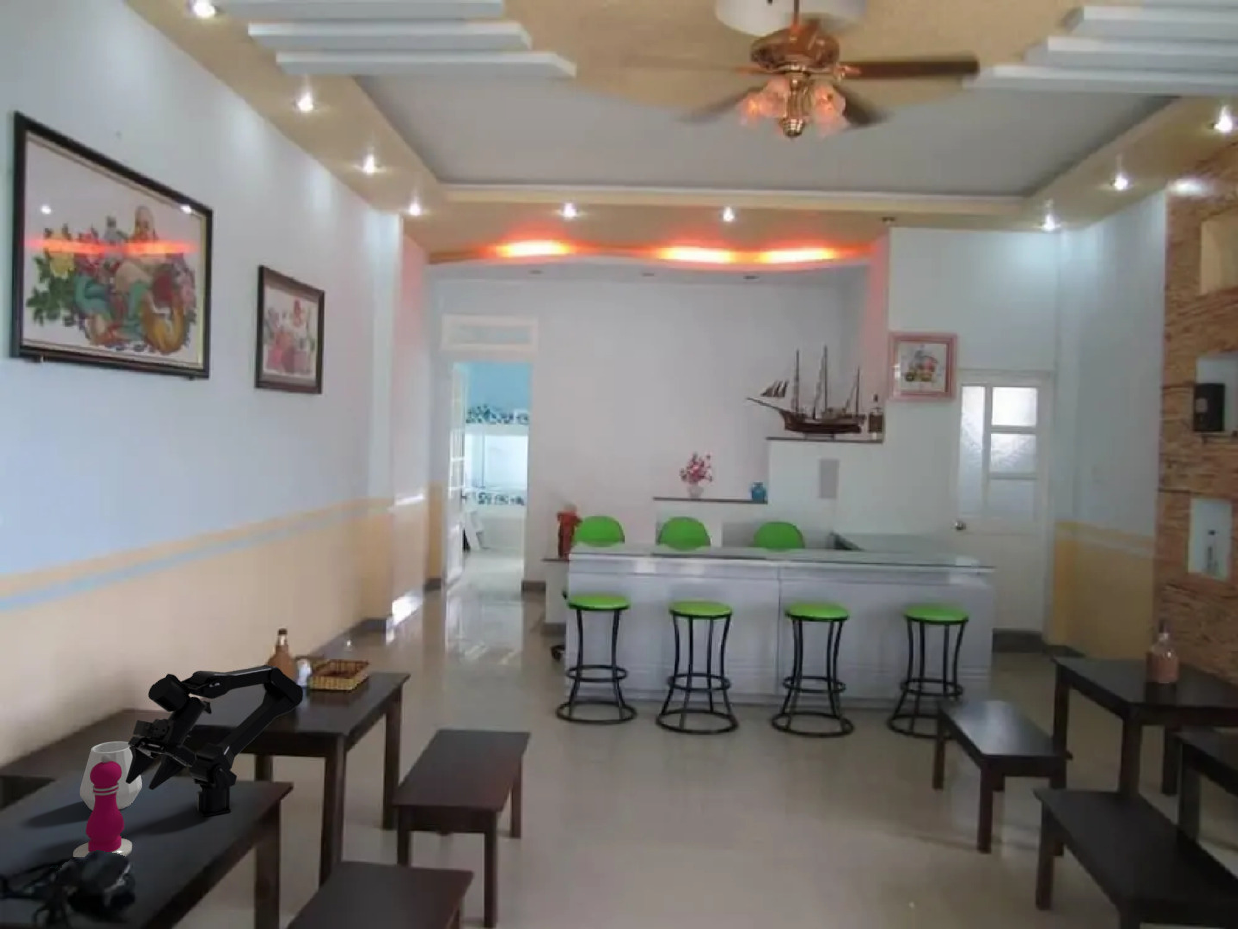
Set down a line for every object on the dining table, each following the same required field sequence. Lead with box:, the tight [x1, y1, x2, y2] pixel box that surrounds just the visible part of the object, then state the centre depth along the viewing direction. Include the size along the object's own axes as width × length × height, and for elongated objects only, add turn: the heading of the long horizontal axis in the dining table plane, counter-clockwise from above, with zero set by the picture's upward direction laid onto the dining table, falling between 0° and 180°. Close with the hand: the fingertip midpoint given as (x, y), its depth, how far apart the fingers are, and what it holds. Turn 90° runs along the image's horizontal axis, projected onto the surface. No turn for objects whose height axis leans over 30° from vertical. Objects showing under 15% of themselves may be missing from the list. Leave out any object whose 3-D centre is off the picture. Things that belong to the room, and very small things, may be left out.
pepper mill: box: [85, 754, 125, 852], centre depth 206 cm, size 7×7×20 cm
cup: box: [79, 740, 143, 811], centre depth 233 cm, size 13×13×14 cm
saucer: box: [72, 837, 133, 858], centre depth 206 cm, size 11×11×1 cm
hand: (138, 786), depth 214 cm, fingers open, 9 cm apart
